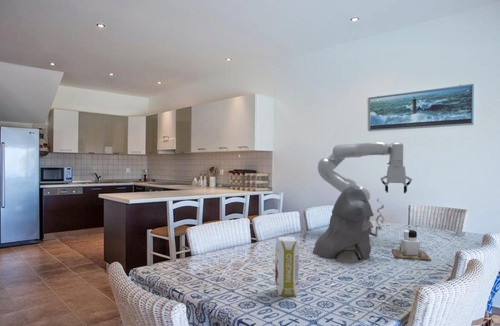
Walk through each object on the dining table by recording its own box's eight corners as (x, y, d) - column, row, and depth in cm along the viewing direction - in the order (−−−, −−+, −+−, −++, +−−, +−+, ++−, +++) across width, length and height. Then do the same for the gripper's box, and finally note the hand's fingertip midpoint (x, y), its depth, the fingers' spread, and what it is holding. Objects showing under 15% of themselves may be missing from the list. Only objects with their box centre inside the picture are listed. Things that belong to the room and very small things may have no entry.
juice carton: (294, 288, 124) (295, 236, 124) (299, 297, 116) (299, 241, 116) (274, 288, 124) (275, 236, 124) (277, 297, 115) (277, 241, 116)
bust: (388, 266, 154) (389, 189, 155) (312, 261, 160) (313, 187, 161) (374, 248, 187) (375, 185, 188) (312, 245, 194) (313, 184, 194)
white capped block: (414, 252, 176) (415, 229, 177) (419, 255, 169) (420, 231, 170) (400, 251, 177) (400, 228, 178) (404, 255, 170) (405, 231, 170)
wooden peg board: (395, 258, 168) (395, 249, 168) (391, 250, 183) (391, 242, 183) (431, 261, 163) (431, 252, 163) (424, 253, 179) (424, 244, 179)
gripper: (381, 163, 199) (380, 192, 199) (413, 163, 194) (413, 193, 194) (380, 163, 206) (379, 191, 206) (411, 164, 201) (410, 192, 201)
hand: (395, 192), depth 200 cm, fingers open, 9 cm apart
